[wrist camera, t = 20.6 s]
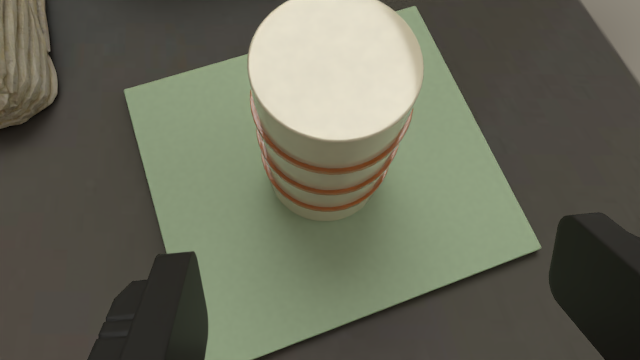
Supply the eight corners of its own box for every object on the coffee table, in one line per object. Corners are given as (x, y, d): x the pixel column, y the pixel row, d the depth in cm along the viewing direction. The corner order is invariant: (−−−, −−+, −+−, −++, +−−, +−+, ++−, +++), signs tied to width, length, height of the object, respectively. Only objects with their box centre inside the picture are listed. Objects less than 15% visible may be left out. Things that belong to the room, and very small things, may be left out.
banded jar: (357, 100, 27) (385, -33, 18) (401, 201, 25) (460, 111, 16) (249, 134, 26) (219, 12, 17) (287, 241, 24) (277, 172, 15)
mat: (413, 11, 30) (415, 5, 29) (537, 250, 25) (542, 248, 24) (126, 94, 27) (122, 89, 27) (202, 379, 22) (199, 380, 22)
